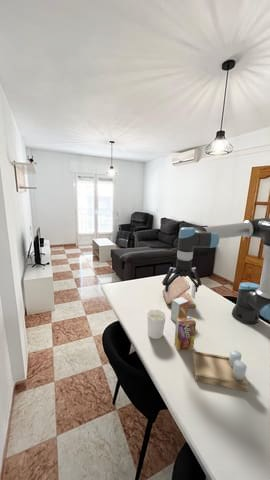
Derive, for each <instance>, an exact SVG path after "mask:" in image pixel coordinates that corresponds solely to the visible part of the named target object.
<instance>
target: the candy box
mask: <svg viewBox="0 0 270 480" xmlns="http://www.w3.org/2000/svg"><path fill="white" fill-rule="evenodd" d="M196 325H197V322H196V320H195V318H194V317H187V318H176V322H175V329H174V331H175V333H174V347H175V349H176V351H182V350H184V351H187V350H194V348H195V339H196V338H195V336H196V335H195V334H196V328H197V327H196Z"/></svg>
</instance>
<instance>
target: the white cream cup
mask: <svg viewBox="0 0 270 480" xmlns="http://www.w3.org/2000/svg"><path fill="white" fill-rule="evenodd" d="M166 317H167V316H166V313H165V312H164V311H162V310H161V309H160V310H159V309H151V310H149V311H147V335H148V337H149V338H151V339H154V340H160V339H162V337H163V335H164V329H165V322H166Z"/></svg>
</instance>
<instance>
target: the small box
mask: <svg viewBox="0 0 270 480" xmlns="http://www.w3.org/2000/svg"><path fill="white" fill-rule="evenodd" d="M188 304H189V301H188V300H186V299H184V298H183V297H179V298H176V299H174V300H172V307H171V311H170V312H171V313H170V320H172V321H173V322H175V323H176V318H188V311H189V307H188Z"/></svg>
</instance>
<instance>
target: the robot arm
mask: <svg viewBox="0 0 270 480" xmlns="http://www.w3.org/2000/svg"><path fill="white" fill-rule="evenodd" d="M237 237H245V238H258V239H263V242H262V245H263V246H264V248H265V250H264V251H265V252H264V256H263V263H262V268H261V269H262V270H261V274H260V275H261V277H260V280H259V281H260V282H259V284H258V283H254V282H249V281H248V282H247V281H246V282H240V283H239V286H238V289H237V290H238V291H237V298H236V304H235V305H234V306H233V308H232V310H231V316H232V317H233V318H234V319H235V320H236V321H238V322H240V323H243V324H247V325H256V324H258V323H259V319H260V318H259V316H260V317H263V318H264V320H267V321H270V218H269V217H262V218H255V219H254V218H253V219H248V220H247V219H245V220H244V221H243V222H237V223H229V224H221V225H220V224H219V225H211V226H203V227H202V226H201V227H195V226H191V227H186V226H184V227H183V226H182V227H181V228H179V232H178V240H177V241H178V242H177V252H176V263H175V267H172V266H169V269H168V272H167V274H166V275H165V277H164V278H163V280H162V281H161V284H162V286H165V287H164V289H165V291H166V292H167V294H166V297H167V299H169V293H170V286H169V285H170V284H171V283H172V282H174V281H175V280H176V279H177V278H179V277H184V278H186V277H188V278H189V279H190V281H191V282H192V283H193V284H192V286H191V294H190V295H191V296H190V297H191V299H192V300H194V299H195V298H196V293H197V292H198V289H199V288H200V287H201V286H203V285H202V281H201V279H200V276H199V273H198V269H197V267H195V266H193V265H192V264H193V260H192V259H193V256H194V249H195V248H209V249H211V248H216V247H218V246H219V242H220V240H221V239H229V238H237ZM192 266H193V267H192ZM191 272H192V273H193V275H194V278H195V279H196V280H195V279H194V278H193V276H192V275H191V274H190V273H191Z"/></svg>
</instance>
